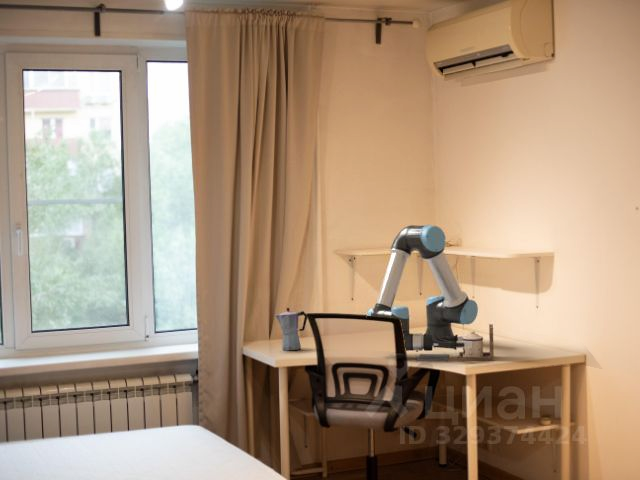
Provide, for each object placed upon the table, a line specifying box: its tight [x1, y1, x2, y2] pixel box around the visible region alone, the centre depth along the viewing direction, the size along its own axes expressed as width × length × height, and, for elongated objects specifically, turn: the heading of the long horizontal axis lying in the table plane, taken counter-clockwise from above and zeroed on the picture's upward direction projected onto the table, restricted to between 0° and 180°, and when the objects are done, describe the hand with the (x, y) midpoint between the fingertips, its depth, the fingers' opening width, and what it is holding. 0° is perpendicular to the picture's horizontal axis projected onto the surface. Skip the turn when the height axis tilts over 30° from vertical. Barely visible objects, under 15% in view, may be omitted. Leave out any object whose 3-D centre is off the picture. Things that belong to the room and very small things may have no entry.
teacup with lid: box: [462, 330, 484, 357], centre depth 371 cm, size 12×9×12 cm
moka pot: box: [274, 307, 308, 352], centre depth 409 cm, size 10×15×20 cm, turn 95°
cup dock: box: [458, 323, 495, 362], centre depth 372 cm, size 13×15×14 cm
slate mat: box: [416, 353, 449, 362], centre depth 375 cm, size 14×13×1 cm
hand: (472, 342), depth 371 cm, fingers open, 13 cm apart
